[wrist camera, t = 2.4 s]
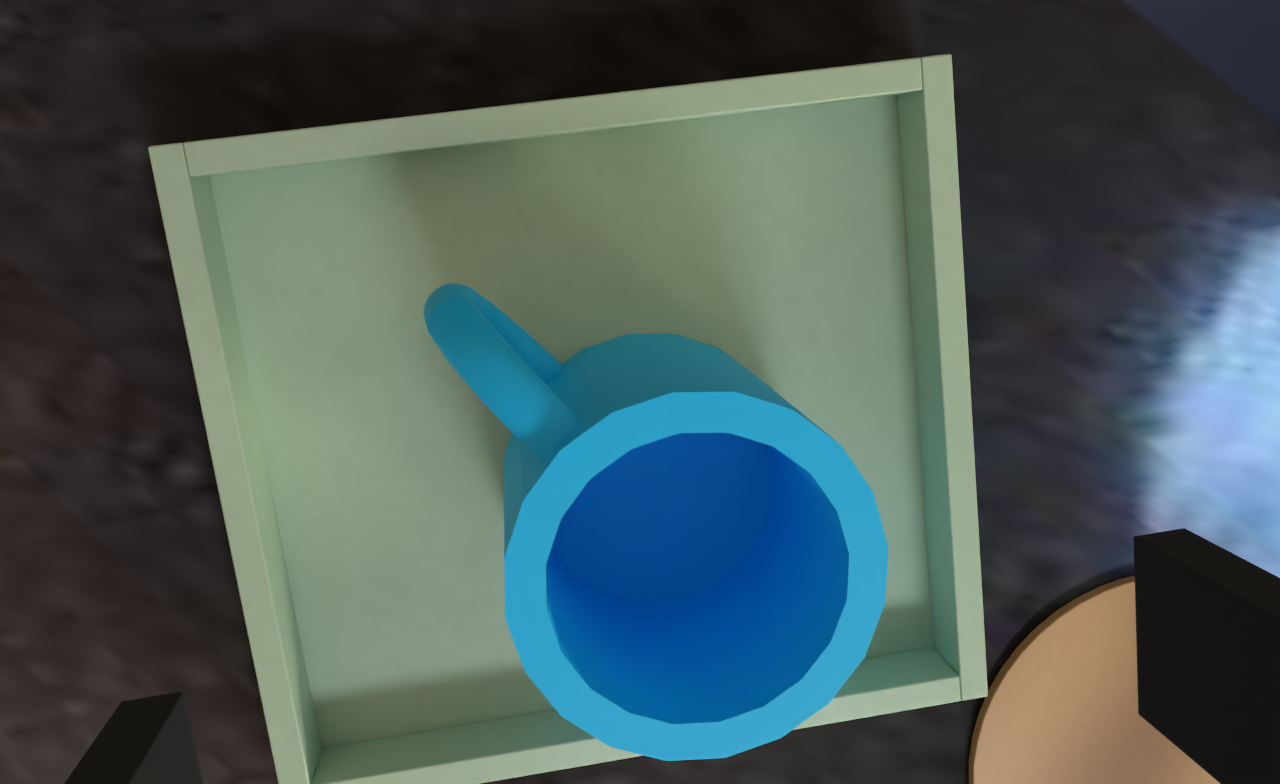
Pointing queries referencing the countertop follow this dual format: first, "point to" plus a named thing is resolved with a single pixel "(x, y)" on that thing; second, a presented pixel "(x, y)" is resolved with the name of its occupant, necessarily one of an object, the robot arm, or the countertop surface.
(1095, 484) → the countertop surface
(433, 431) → the tray
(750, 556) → the mug
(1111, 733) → the coaster
